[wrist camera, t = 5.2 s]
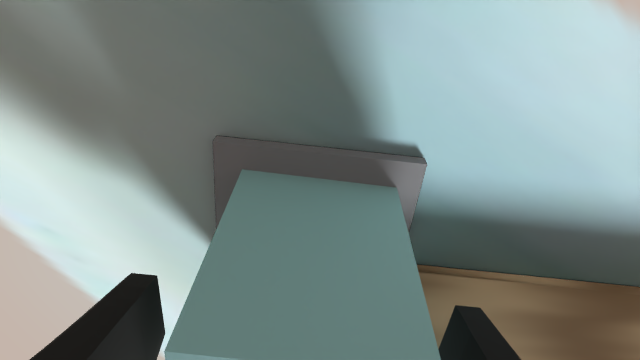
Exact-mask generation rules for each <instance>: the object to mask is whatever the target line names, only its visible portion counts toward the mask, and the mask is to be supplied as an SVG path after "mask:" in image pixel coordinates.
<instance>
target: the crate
mask: <svg viewBox="0 0 640 360" xmlns="http://www.w3.org/2000/svg"><path fill="white" fill-rule="evenodd" d="M417 268H418V272H419V276H420V280H421V284H422V288H423V292H424V296H425V299H426V303H427V307H428V311H429V315H430V319H431V323H432V327H433V331H434V334H435V338H436V342H437V346H438V349H439V346H440V344H441V341H442V339H443V336H444V333H445V331H446V328H447V326H448V323H449V320H450V318H451V315H452V313H453V310H454V307H455V305H459V306H469V307H479V308H481V309H482V310H483V312H484V313H485V314H486V315H487V317H488V318H489V319H490V320H491V322H492V323H493V324H494V326H495V327H496V328H497V329H498V331H499V332H500V333H501V334H502V336H503V337H504V338H505V340H506V341H507V342H508V343H509V345H510V346H511V347H512V348H513V350H514V351H515V352H516V353H517V355H518V356H519V357H520V359H521V360H640V287H634V286H624V285H614V284H604V283H595V282H585V281H575V280H565V279H555V278H545V277H535V276H525V275H515V274H505V273H495V272H485V271H475V270H465V269H455V268H445V267H435V266H426V265H417Z"/></svg>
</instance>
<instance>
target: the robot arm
mask: <svg viewBox="0 0 640 360" xmlns="http://www.w3.org/2000/svg"><path fill="white" fill-rule="evenodd" d="M164 335H165V328H164V321H163V314H162V307H161V300H160V293H159V286H158V278H157V276H155V275H145V274H135V273H131V274H130V275H129V276H127V277H126V278H125V279H124V280H123V281H121V282H120V283H119V284H118V285H117V286H116V287H115V288H113V289H112V290H111V291H110V292H109V293H108V294H107V295H106V296H104V297H103V298H102V299H101V300H100V301H99V302H98V303H96V304H95V305H94V306H93V307H92V308H91V309H90V310H88V311H87V312H86V313H85V314H84V315H83V316H82V317H80V318H79V319H78V320H77V321H76V322H75V323H73V324H72V325H71V326H70V327H69V328H68V329H66V330H65V331H64V332H63V333H62V334H60V335H59V336H58V337H57V338H55V339H54V340H53V341H52V342H51V343H50V344H49V345H47V346H46V347H45V348H44V349H43V350H41V351H40V352H39V353H37V354H36V355H35V356H34V357H32V358H31V359H30V360H157V357H158V354H159V351H160V348H161V345H162V342H163V339H164ZM438 350H439V354H440V358H441V360H521V359H520V357H519V356H518V355H517V353H516V352H515V351H514V350H513V348H512V347H511V346H510V345H509V343H508V342H507V341H506V340H505V338H504V337H503V336H502V334H501V333H500V332H499V331H498V329H497V328H496V327H495V326H494V324H493V323H492V322H491V320H490V319H489V318H488V317H487V315H486V314H485V313H484V312H483V310H482V309H481V308H479V307H469V306H459V305H455V307H454V310H453V313H452V315H451V318H450V320H449V323H448V326H447V328H446V331H445V333H444V336H443V339H442V341H441V344H440V346H439V349H438Z"/></svg>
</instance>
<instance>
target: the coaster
mask: <svg viewBox="0 0 640 360" xmlns="http://www.w3.org/2000/svg"><path fill="white" fill-rule="evenodd" d="M213 158H214V185H215V212H216V229H217V227H218V225H219V222H220V220H221V218H222V215H223V213H224V211H225V208H226V206H227V204H228V201H229V199H230V196H231V194H232V192H233V189H234V187H235V185H236V182H237V180H238V178H239V175H240V173H241V171H242V169H244V170H252V171H261V172H269V173H278V174H286V175H294V176H303V177H311V178H320V179H328V180H337V181H345V182H353V183H362V184H370V185H379V186H387V187H396V188H397V190H398V194H399V198H400V202H401V206H402V210H403V214H404V218H405V222H406V225H407V229H408V233H409V230H410V226H411V223H412V219H413V215H414V212H415V208H416V204H417V200H418V197H419V193H420V189H421V185H422V182H423V178H424V174H425V170H426V167H427V163H426V161H425V158H421V157H411V156H402V155H393V154H383V153H374V152H364V151H355V150H346V149H336V148H327V147H317V146H308V145H298V144H289V143H280V142H270V141H261V140H251V139H242V138H233V137H223V136H216V138H215V139H214V141H213Z"/></svg>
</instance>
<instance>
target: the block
mask: <svg viewBox="0 0 640 360" xmlns="http://www.w3.org/2000/svg"><path fill="white" fill-rule="evenodd" d="M164 352H165V360H441V358H440V354H439V350H438V346H437V342H436V338H435V334H434V331H433V327H432V323H431V319H430V315H429V311H428V307H427V303H426V299H425V296H424V292H423V288H422V284H421V280H420V276H419V272H418V268H417V264H416V261H415V257H414V253H413V249H412V245H411V241H410V237H409V233H408V229H407V225H406V222H405V218H404V214H403V210H402V206H401V202H400V198H399V194H398V190H397V188H396V187H387V186H379V185H370V184H362V183H353V182H345V181H337V180H328V179H320V178H311V177H303V176H294V175H286V174H278V173H269V172H261V171H252V170H244V169H242V171H241V173H240V175H239V178H238V180H237V182H236V185H235V187H234V189H233V192H232V194H231V196H230V199H229V201H228V204H227V206H226V208H225V211H224V213H223V215H222V218H221V220H220V222H219V225H218V227H217V229H216V232H215V234H214V236H213V239H212V241H211V243H210V246H209V248H208V250H207V253H206V255H205V257H204V260H203V262H202V264H201V267H200V269H199V272H198V274H197V276H196V279H195V281H194V283H193V286H192V288H191V290H190V293H189V295H188V297H187V300H186V302H185V304H184V307H183V309H182V311H181V314H180V316H179V318H178V321H177V323H176V325H175V328H174V330H173V332H172V335H171V337H170V340H169V342H168V344H167V347H166V349H165V351H164Z"/></svg>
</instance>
